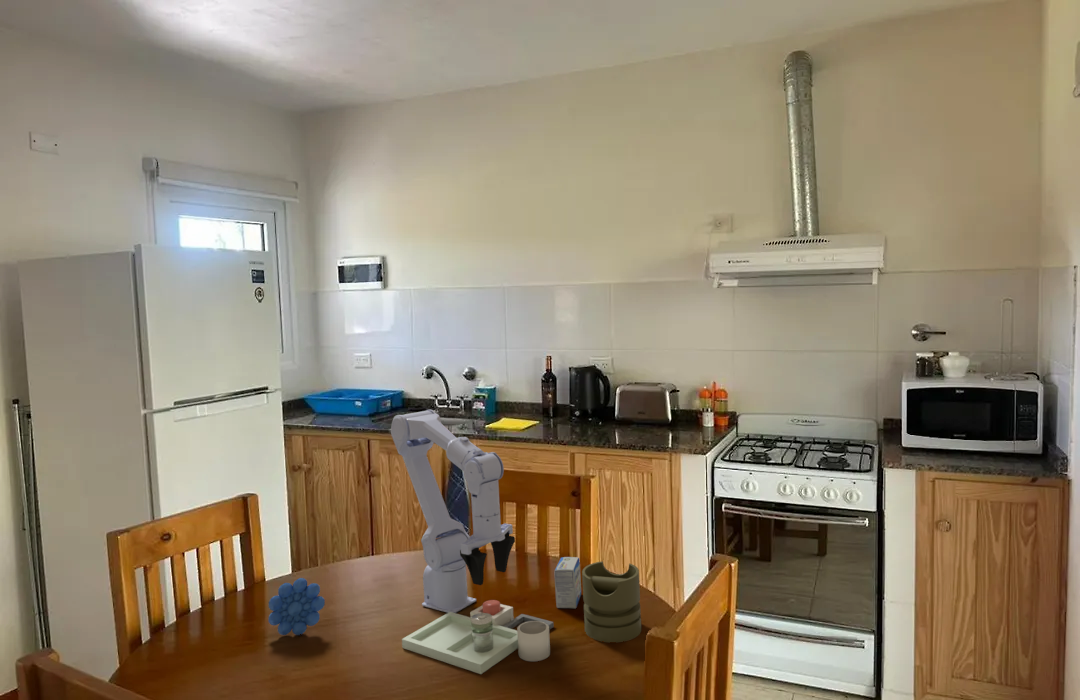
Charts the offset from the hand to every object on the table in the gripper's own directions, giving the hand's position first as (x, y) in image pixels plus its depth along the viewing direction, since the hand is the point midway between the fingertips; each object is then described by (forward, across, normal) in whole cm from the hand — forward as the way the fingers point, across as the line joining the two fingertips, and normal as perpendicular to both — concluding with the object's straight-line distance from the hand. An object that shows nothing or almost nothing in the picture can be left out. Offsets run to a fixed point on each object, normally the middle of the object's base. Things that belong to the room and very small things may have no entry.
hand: (489, 577), depth 152 cm
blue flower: (+10, -23, +33) cm, 41 cm away
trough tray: (+10, -10, -1) cm, 14 cm away
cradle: (+10, +1, -8) cm, 13 cm away
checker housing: (+10, 0, 0) cm, 10 cm away
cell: (+9, -10, -6) cm, 15 cm away
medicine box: (+10, +17, -8) cm, 21 cm away
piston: (+10, +10, -23) cm, 27 cm away
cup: (+10, -6, -15) cm, 19 cm away
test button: (+10, 0, 0) cm, 10 cm away
